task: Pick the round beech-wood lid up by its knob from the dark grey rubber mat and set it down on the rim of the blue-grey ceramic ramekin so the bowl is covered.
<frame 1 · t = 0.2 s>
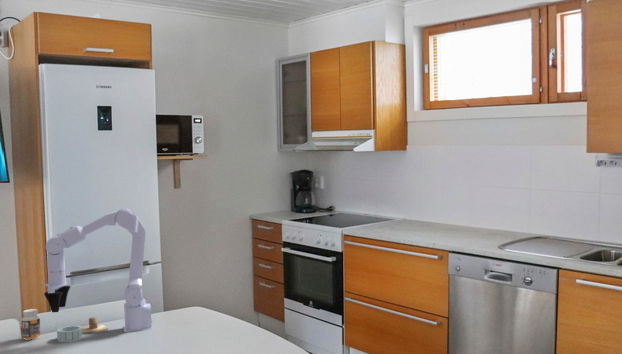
hand: (58, 309, 212), 10 cm above the table, fingers open, 7 cm apart
bowl: (70, 339, 209), on the table
pill bottle: (31, 339, 212), on the table
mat: (93, 331, 219), on the table
lid: (93, 330, 219), resting on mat
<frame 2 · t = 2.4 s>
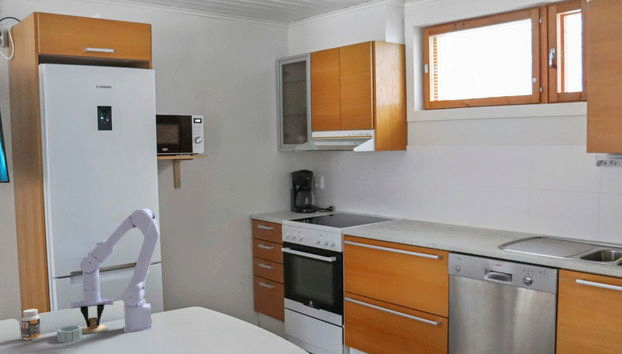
hand: (93, 326, 219), 2 cm above the table, fingers closed on lid, 3 cm apart
lid: (93, 330, 219), resting on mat, touching gripper
everything else where it was.
when the fingers open (6 cm above the table, at t = 5.2 s): lid stays where it is, resting on bowl.
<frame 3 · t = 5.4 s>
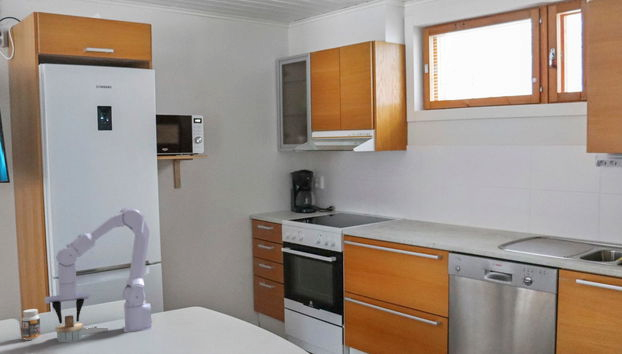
hand: (69, 321, 209), 6 cm above the table, fingers open, 5 cm apart
lid: (69, 328, 209), point 4 cm above the table, touching bowl
everything else where it was.
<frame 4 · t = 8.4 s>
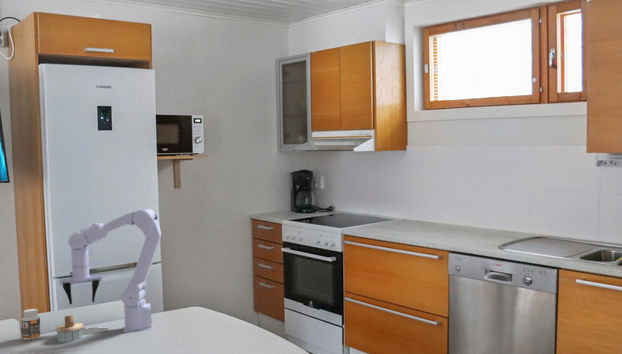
hand: (82, 302, 219), 10 cm above the table, fingers open, 7 cm apart
nothing on the table moved.
at the end: lid 0.1 cm off-centre on the bowl, point 3.8 cm above the bowl's base; lid tilted 0°; the gripper is holding nothing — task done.
